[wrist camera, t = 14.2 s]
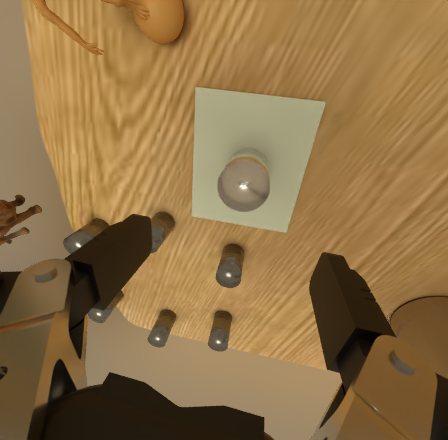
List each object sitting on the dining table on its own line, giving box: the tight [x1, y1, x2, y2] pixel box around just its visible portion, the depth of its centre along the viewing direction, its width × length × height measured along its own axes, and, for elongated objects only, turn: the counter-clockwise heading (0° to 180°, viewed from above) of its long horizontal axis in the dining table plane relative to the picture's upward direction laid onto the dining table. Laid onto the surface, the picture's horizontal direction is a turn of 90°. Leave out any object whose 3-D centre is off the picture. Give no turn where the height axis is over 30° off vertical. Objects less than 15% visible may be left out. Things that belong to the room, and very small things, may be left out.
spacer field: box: [63, 212, 244, 351], centre depth 31 cm, size 23×23×5 cm
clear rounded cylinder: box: [217, 148, 270, 212], centre depth 20 cm, size 4×4×6 cm
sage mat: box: [192, 87, 326, 233], centre depth 23 cm, size 12×14×1 cm
